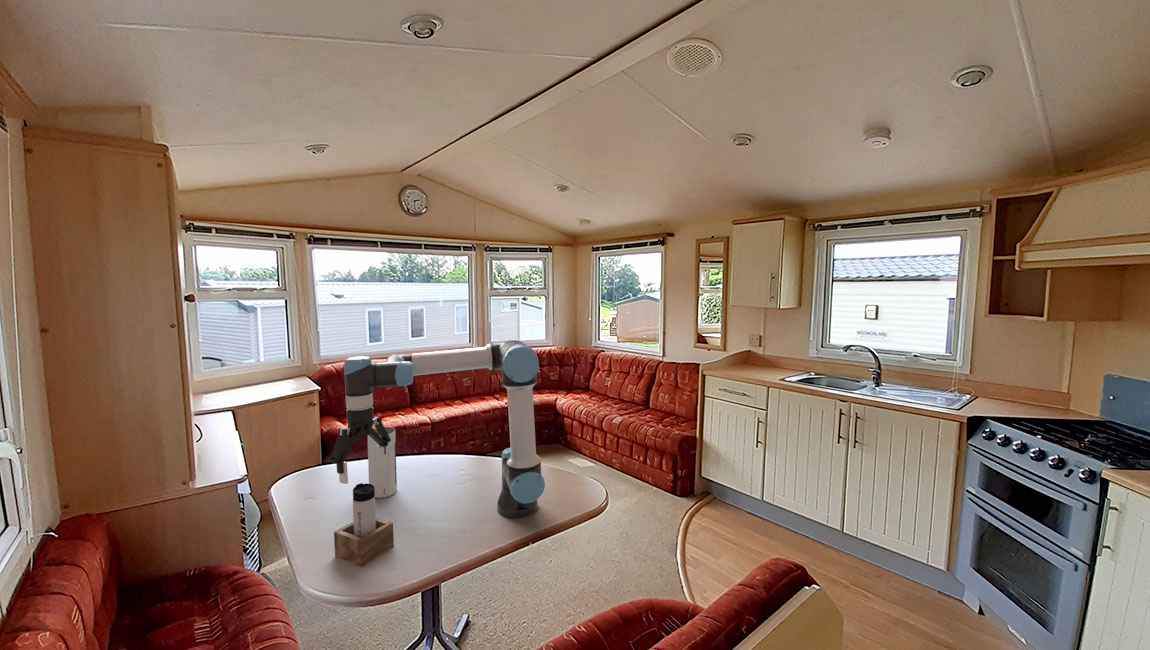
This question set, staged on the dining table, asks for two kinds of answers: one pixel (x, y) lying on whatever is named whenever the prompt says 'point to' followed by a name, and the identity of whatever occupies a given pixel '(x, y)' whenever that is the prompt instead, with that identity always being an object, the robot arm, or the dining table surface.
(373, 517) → the travel mug
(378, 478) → the speaker
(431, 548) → the dining table surface
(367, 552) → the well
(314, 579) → the dining table surface
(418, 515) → the dining table surface
